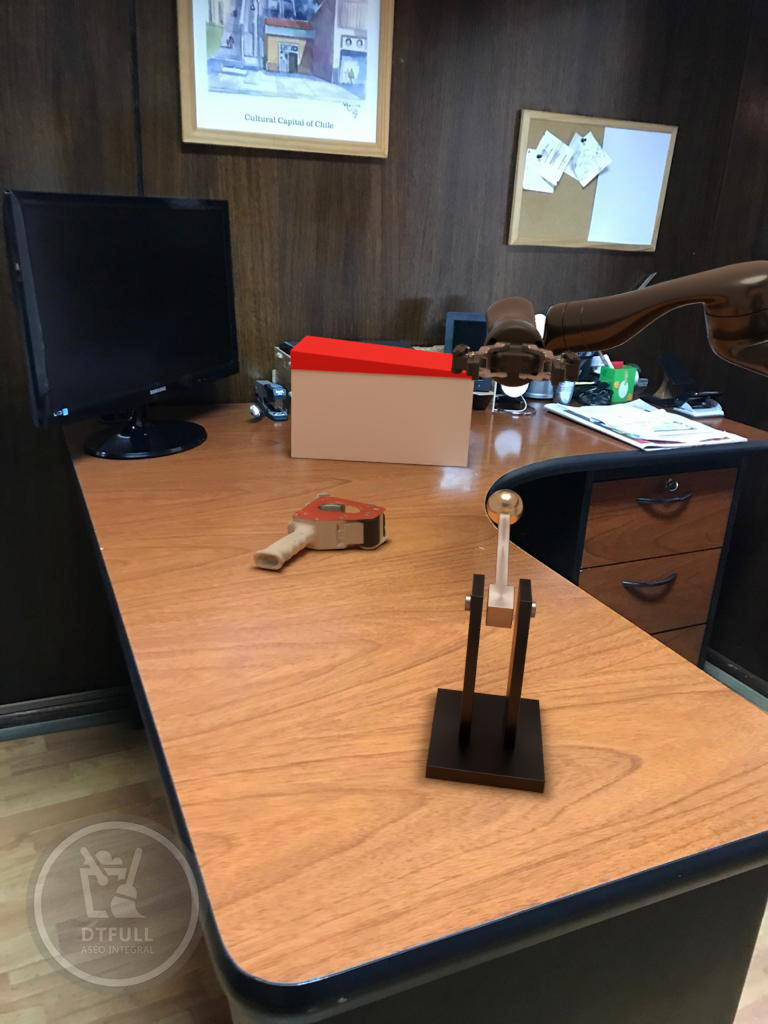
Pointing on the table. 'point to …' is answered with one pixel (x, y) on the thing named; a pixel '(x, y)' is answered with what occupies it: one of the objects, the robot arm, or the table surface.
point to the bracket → (490, 714)
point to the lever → (502, 557)
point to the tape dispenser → (326, 529)
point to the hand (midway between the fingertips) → (515, 373)
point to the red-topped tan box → (378, 404)
